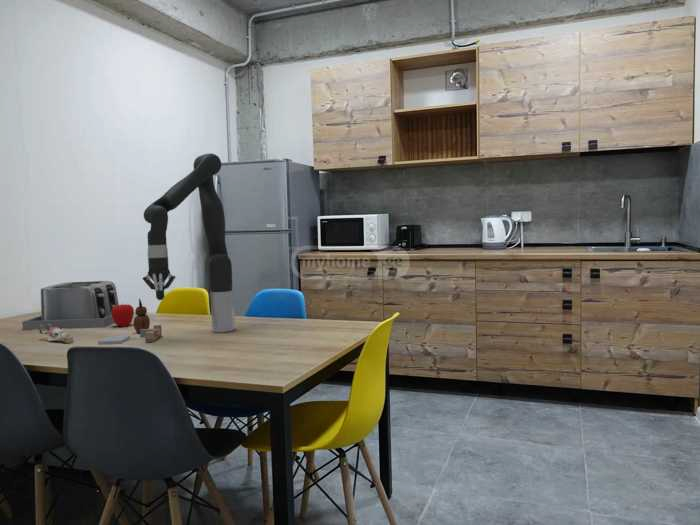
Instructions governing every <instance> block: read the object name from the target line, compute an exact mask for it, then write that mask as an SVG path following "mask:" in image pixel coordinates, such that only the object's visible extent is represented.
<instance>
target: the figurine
mask: <svg viewBox="0 0 700 525" xmlns="http://www.w3.org/2000/svg"><path fill="white" fill-rule="evenodd" d="M38 331H39V334H41V335H48V336H49V337H47V338H46V341H47V342H54V341H62V343H65V344H72V343H73V342H74V336H73V335H70V334H68V333H67V332H65V331H64V329H60V328H57V327H54V328H52V324H48V325H47V329H45V327H44V325H41V326H40V327H39V330H38Z"/></svg>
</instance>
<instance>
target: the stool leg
mask: <svg viewBox="0 0 700 525" xmlns="http://www.w3.org/2000/svg"><path fill="white" fill-rule="evenodd" d="M151 329H152V330H150V331H148V332H146V333H145V337H144V339H145V340H144V341H145V343H153V342H154V341H156V340H158V339H160V338H159V337H161V336H163V335H162V334H163V333H162V325H161V324H156V325H155V324H154V325H153V328H151Z"/></svg>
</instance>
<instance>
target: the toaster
mask: <svg viewBox="0 0 700 525" xmlns="http://www.w3.org/2000/svg"><path fill="white" fill-rule="evenodd" d="M117 305H120V304H119V298H118V293H117V287H116V285H115V283H114V282H113V281H111V280H110V281H109V280H100V281H99V280H96V281H95V280H93V281H70V282H63V283H57V284H53V285H49V286H46V287H45V286H44V287H42V288H40V308H41V310H40V311H41V313H40V314H41V315H40V316H41V319H42V320H41V321H44V320H73V319H102V318H106V317H108V316H111V311H112V308H113V307H114V306H117Z"/></svg>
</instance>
